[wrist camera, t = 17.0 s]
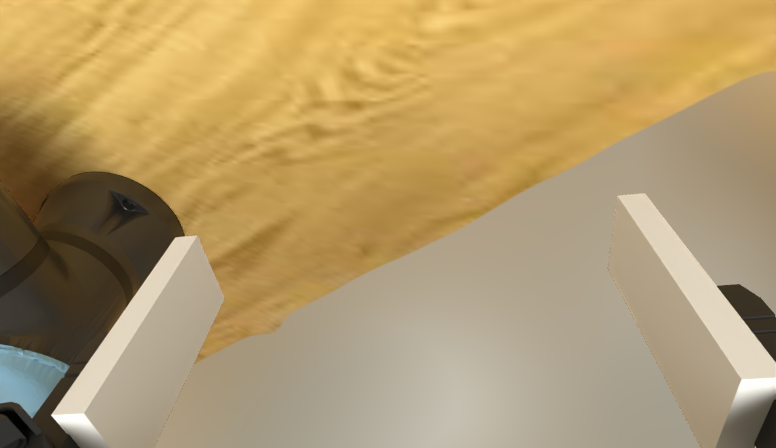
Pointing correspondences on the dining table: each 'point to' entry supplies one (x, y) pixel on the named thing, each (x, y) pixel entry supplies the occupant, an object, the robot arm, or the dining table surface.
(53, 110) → the dining table surface
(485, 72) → the dining table surface
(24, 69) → the dining table surface
